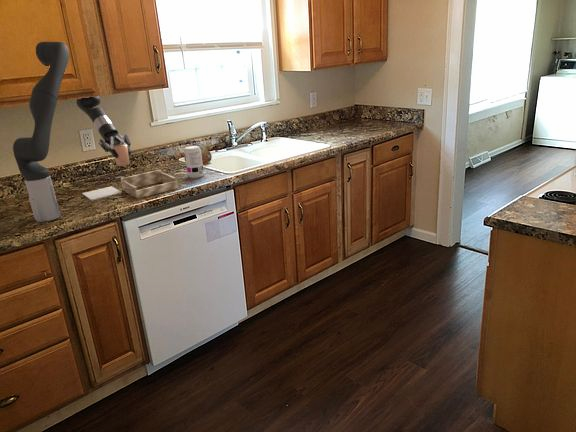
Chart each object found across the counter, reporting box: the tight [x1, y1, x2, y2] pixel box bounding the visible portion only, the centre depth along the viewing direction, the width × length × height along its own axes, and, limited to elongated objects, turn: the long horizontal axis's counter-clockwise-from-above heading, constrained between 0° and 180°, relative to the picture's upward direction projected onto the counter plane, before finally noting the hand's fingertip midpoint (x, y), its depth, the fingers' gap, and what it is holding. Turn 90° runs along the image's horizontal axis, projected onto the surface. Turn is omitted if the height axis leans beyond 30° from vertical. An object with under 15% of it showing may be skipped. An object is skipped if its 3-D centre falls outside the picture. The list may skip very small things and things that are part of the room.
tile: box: [82, 186, 123, 202], centre depth 213 cm, size 14×14×1 cm
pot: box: [113, 143, 131, 167], centre depth 209 cm, size 6×6×9 cm
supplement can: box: [183, 145, 205, 179], centre depth 229 cm, size 8×8×15 cm
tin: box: [184, 148, 213, 165], centre depth 254 cm, size 15×3×8 cm, turn 106°
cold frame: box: [120, 169, 179, 200], centre depth 214 cm, size 20×18×6 cm
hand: (123, 155), depth 208 cm, fingers closed on pot, 6 cm apart
